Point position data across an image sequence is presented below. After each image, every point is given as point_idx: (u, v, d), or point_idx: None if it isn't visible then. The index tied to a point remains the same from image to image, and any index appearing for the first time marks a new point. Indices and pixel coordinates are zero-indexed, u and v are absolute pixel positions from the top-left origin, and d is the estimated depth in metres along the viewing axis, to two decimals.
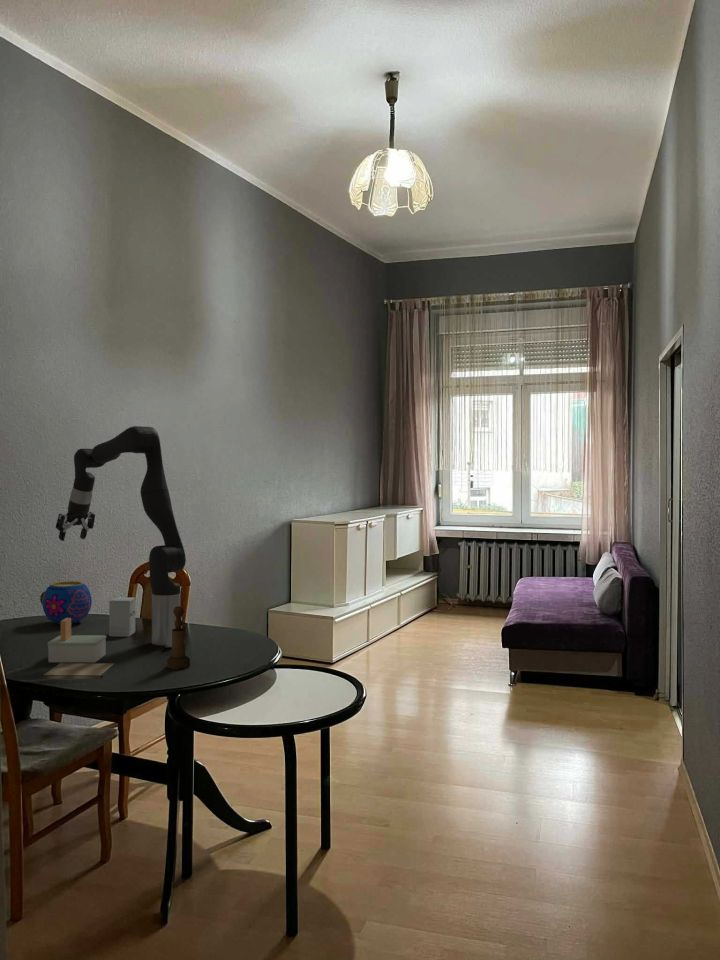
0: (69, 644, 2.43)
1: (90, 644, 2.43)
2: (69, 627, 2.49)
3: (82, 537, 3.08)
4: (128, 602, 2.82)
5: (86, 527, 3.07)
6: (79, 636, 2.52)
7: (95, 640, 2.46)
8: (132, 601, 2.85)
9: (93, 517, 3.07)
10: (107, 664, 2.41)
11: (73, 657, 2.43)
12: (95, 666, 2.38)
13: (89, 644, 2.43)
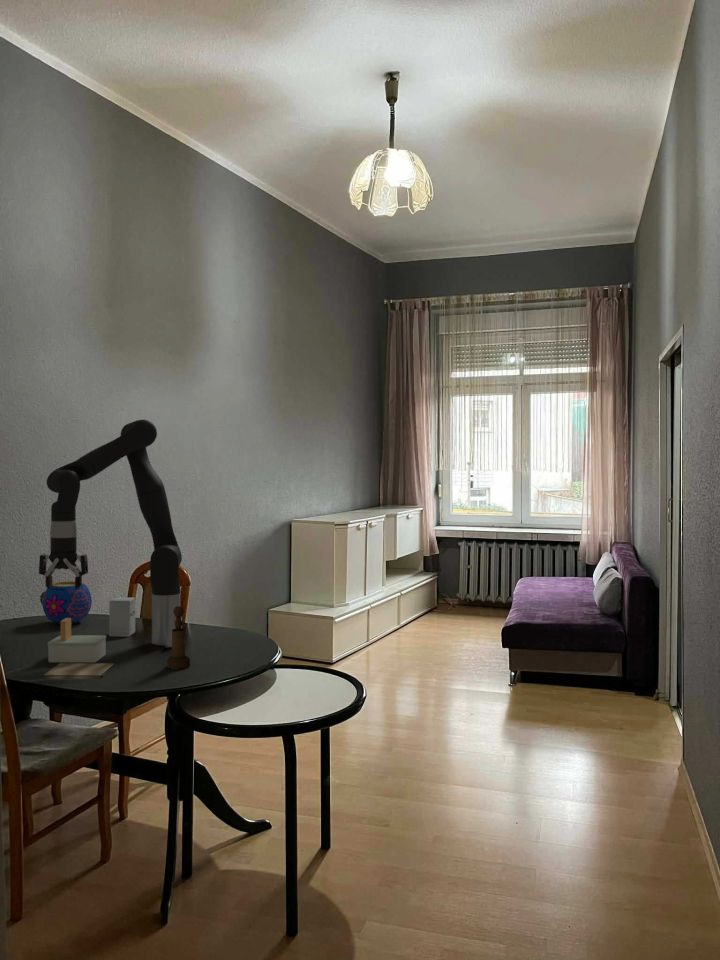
0: (69, 644, 2.43)
1: (90, 644, 2.43)
2: (69, 627, 2.49)
3: (51, 586, 2.49)
4: (128, 602, 2.82)
5: None
6: (79, 636, 2.52)
7: (95, 640, 2.46)
8: (132, 601, 2.85)
9: None
10: (107, 664, 2.41)
11: (73, 657, 2.43)
12: (95, 666, 2.38)
13: (89, 644, 2.43)
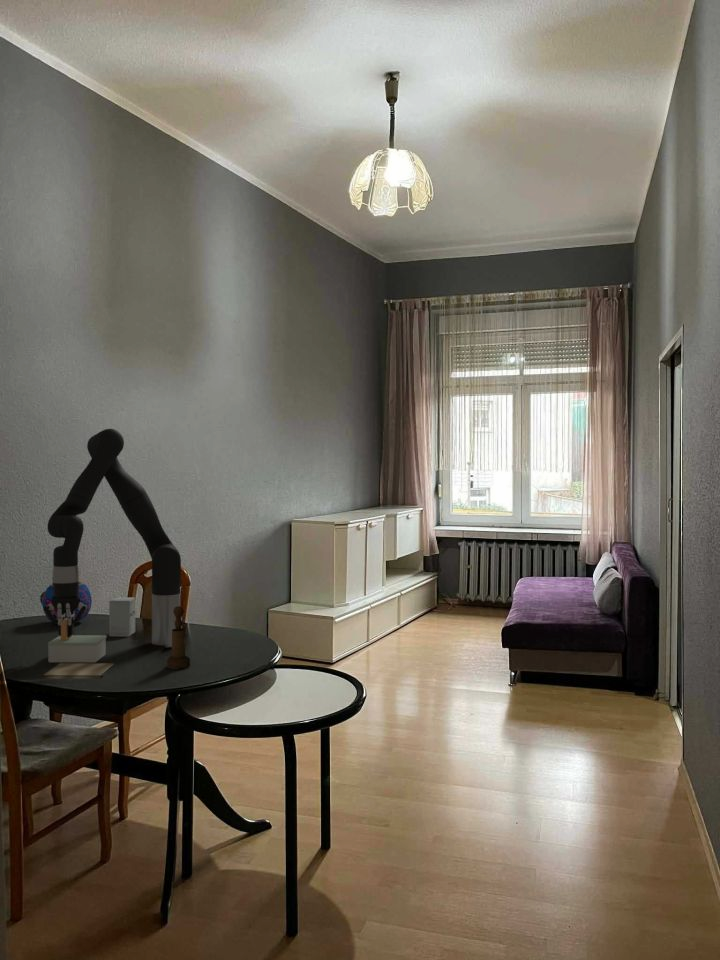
0: (69, 644, 2.43)
1: (90, 644, 2.43)
2: None
3: None
4: (128, 602, 2.82)
5: None
6: (79, 636, 2.52)
7: (95, 640, 2.46)
8: (132, 601, 2.85)
9: None
10: (107, 664, 2.41)
11: (73, 657, 2.43)
12: (95, 666, 2.38)
13: (89, 644, 2.43)
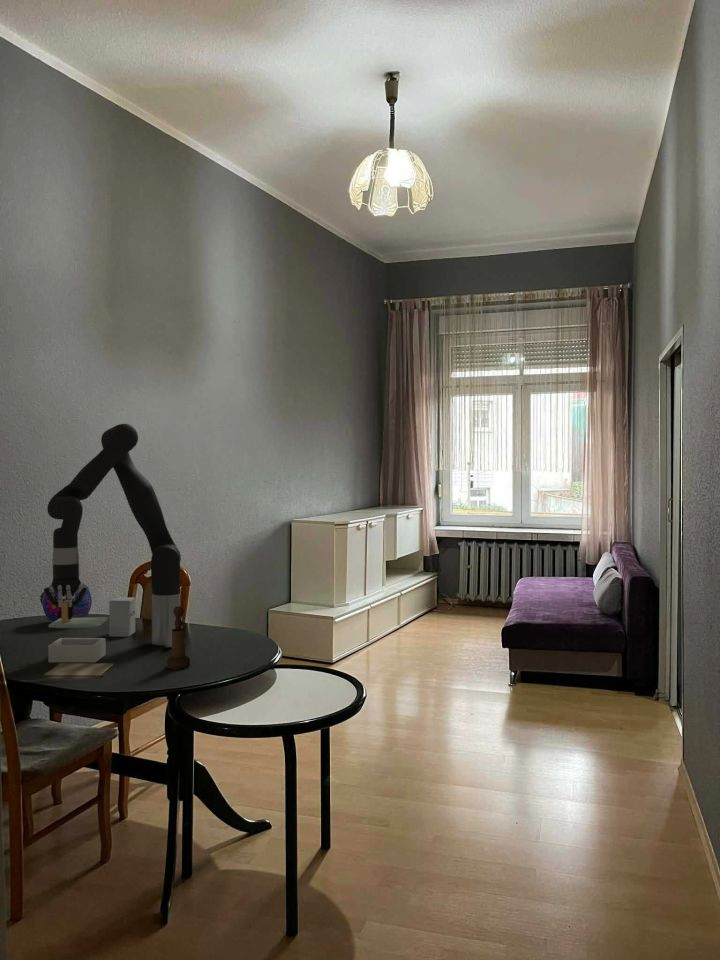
0: (70, 625, 2.42)
1: (92, 625, 2.42)
2: None
3: None
4: (128, 602, 2.82)
5: None
6: (80, 618, 2.51)
7: (96, 621, 2.46)
8: (132, 601, 2.85)
9: None
10: (107, 664, 2.41)
11: (73, 657, 2.43)
12: (95, 666, 2.38)
13: (90, 625, 2.42)
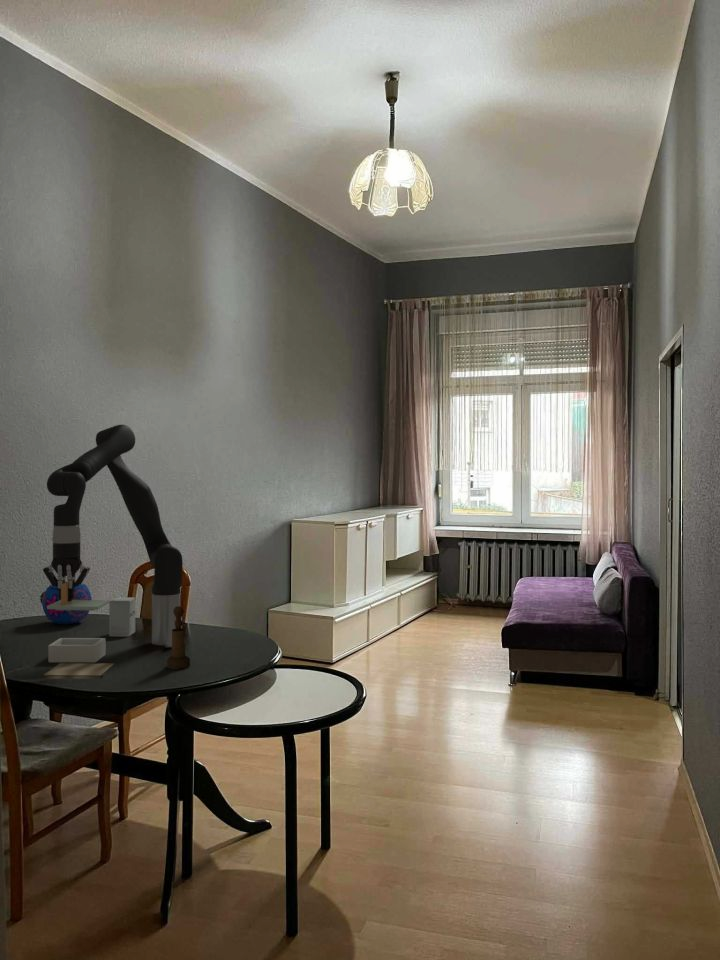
0: (70, 608, 2.30)
1: (92, 608, 2.30)
2: None
3: None
4: (128, 602, 2.82)
5: None
6: (81, 600, 2.39)
7: (97, 604, 2.33)
8: (132, 601, 2.85)
9: None
10: (107, 664, 2.41)
11: (73, 657, 2.43)
12: (95, 666, 2.38)
13: (91, 608, 2.30)
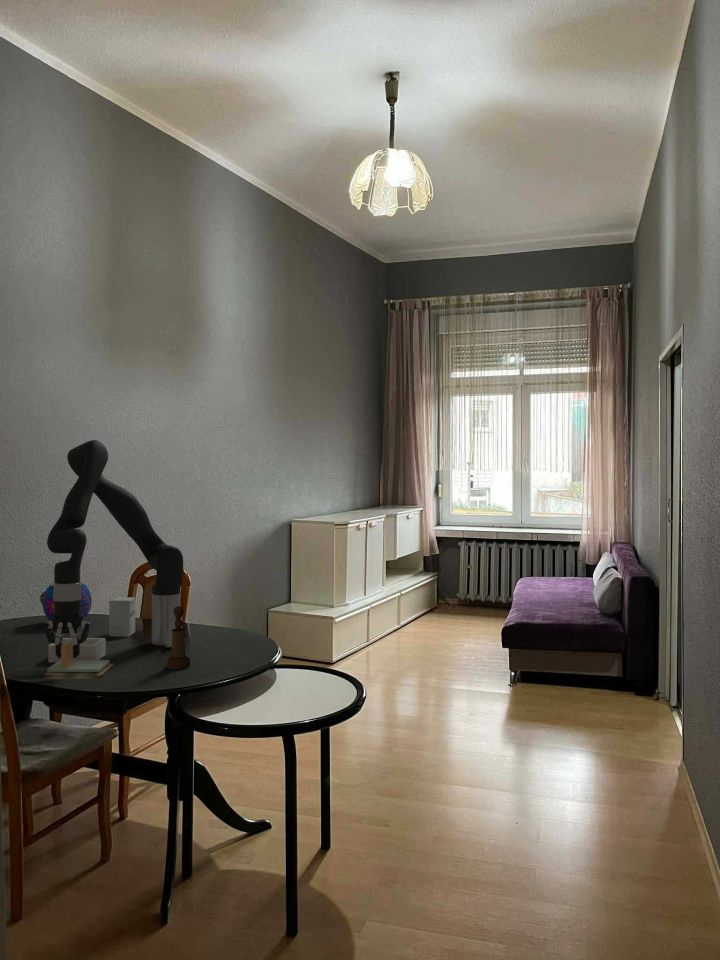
0: (70, 670, 2.30)
1: (92, 670, 2.30)
2: (70, 651, 2.36)
3: None
4: (128, 602, 2.82)
5: None
6: (81, 661, 2.39)
7: (98, 665, 2.33)
8: (132, 601, 2.85)
9: None
10: (107, 664, 2.41)
11: None
12: None
13: (91, 670, 2.30)
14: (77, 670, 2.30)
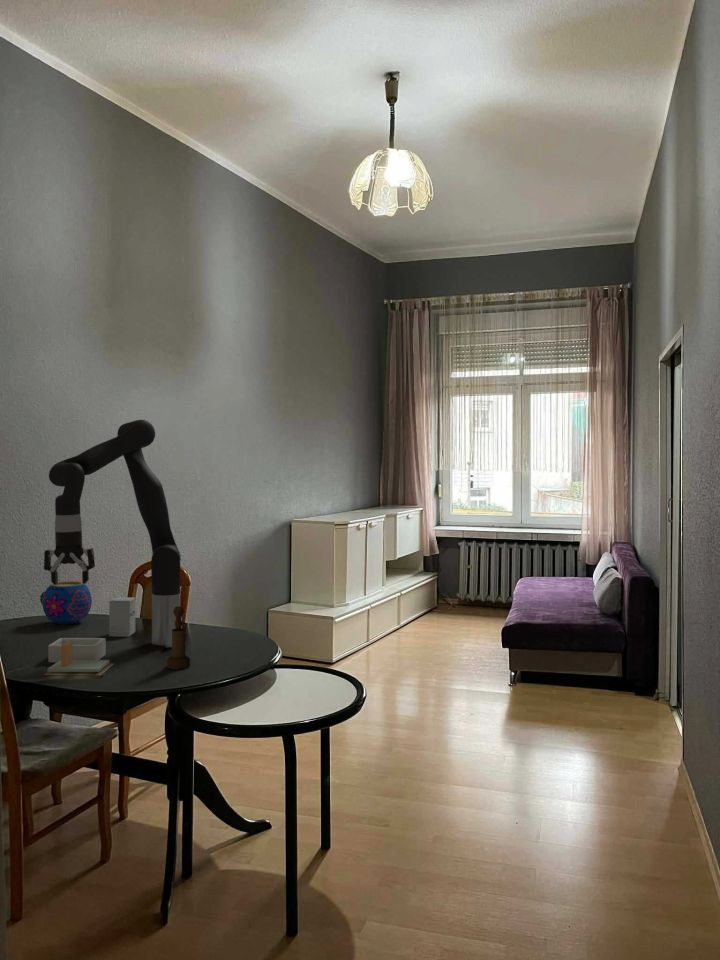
0: (70, 670, 2.30)
1: (92, 670, 2.30)
2: (70, 651, 2.36)
3: (57, 581, 2.44)
4: (128, 602, 2.82)
5: None
6: (81, 661, 2.39)
7: (98, 665, 2.33)
8: (132, 601, 2.85)
9: None
10: (107, 664, 2.41)
11: (73, 657, 2.43)
12: None
13: (91, 670, 2.30)
14: (77, 670, 2.30)
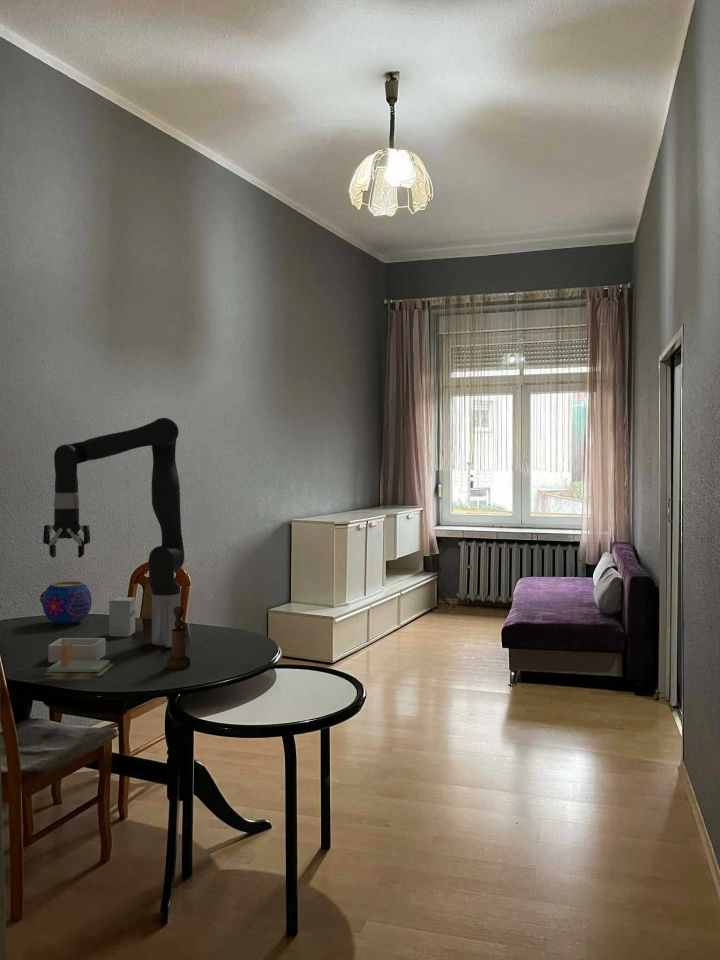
0: (70, 670, 2.30)
1: (92, 670, 2.30)
2: (70, 651, 2.36)
3: (55, 555, 2.62)
4: (128, 602, 2.82)
5: None
6: (81, 661, 2.39)
7: (98, 665, 2.33)
8: (132, 601, 2.85)
9: None
10: (107, 664, 2.41)
11: (73, 657, 2.43)
12: None
13: (91, 670, 2.30)
14: (77, 670, 2.30)
